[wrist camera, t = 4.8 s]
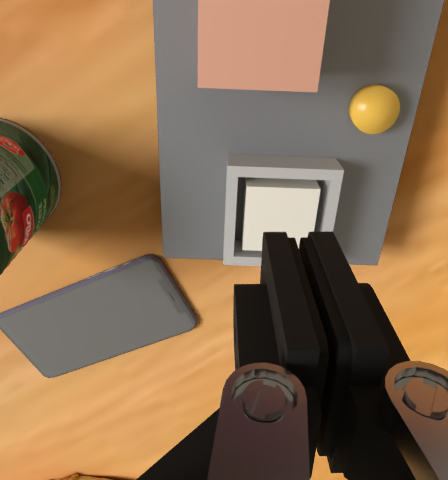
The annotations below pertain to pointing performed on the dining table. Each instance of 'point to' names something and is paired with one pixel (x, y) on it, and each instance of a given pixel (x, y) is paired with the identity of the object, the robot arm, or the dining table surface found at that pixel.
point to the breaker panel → (291, 129)
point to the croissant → (82, 478)
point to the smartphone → (99, 317)
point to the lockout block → (261, 44)
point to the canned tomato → (24, 188)
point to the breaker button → (278, 209)
